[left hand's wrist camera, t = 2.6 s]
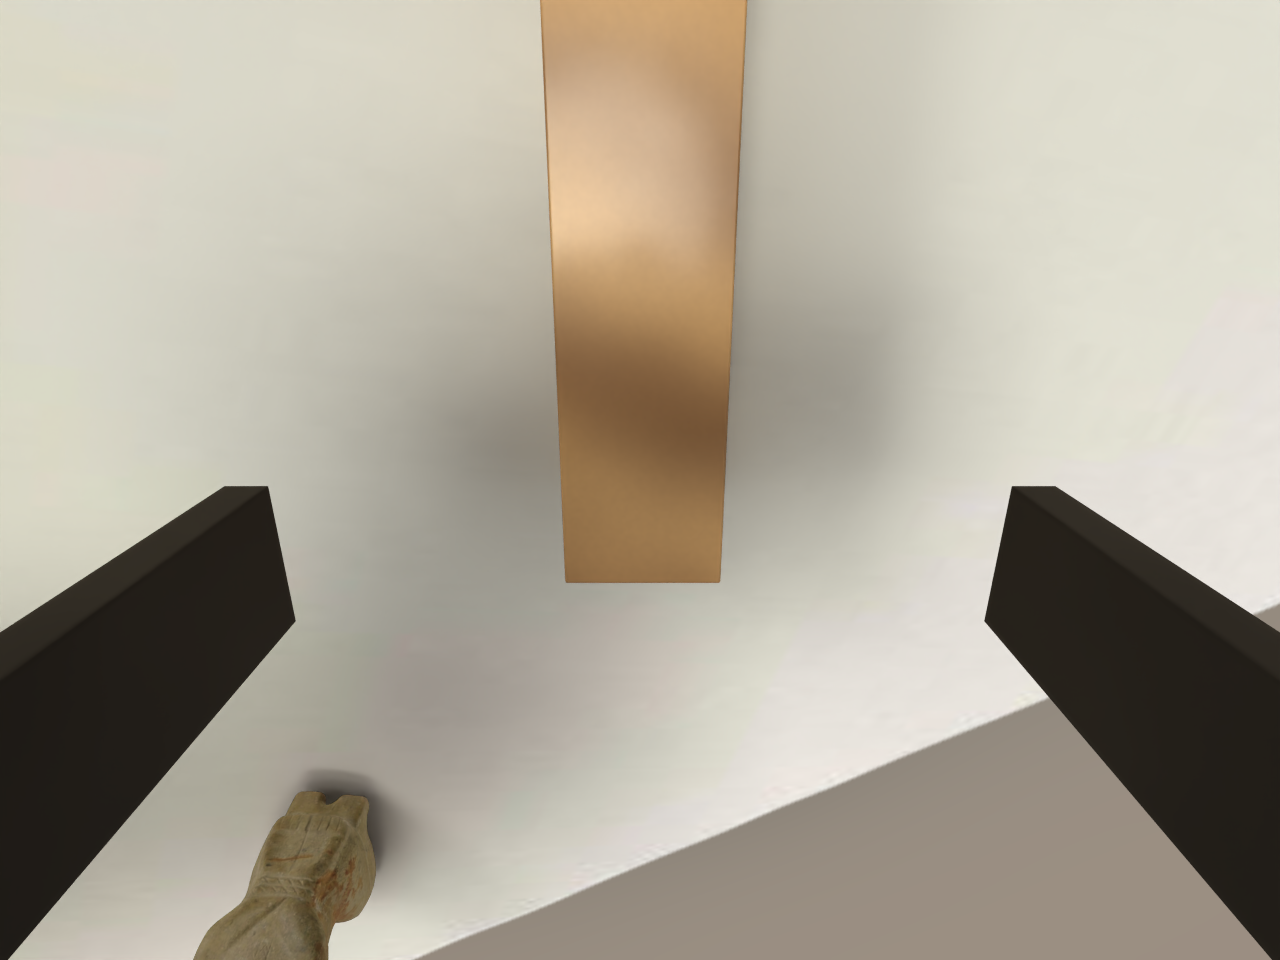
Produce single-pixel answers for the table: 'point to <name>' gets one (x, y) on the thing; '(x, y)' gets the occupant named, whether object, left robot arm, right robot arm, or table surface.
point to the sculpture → (300, 884)
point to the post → (643, 277)
